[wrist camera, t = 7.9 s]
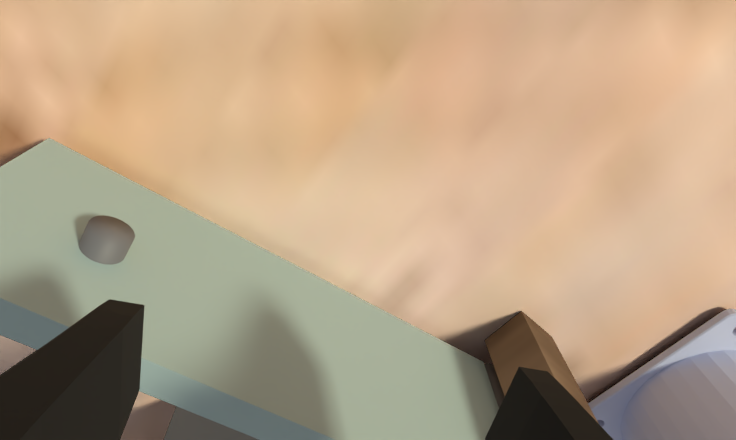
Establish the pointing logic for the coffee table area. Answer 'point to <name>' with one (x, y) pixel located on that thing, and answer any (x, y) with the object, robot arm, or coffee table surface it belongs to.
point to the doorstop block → (200, 428)
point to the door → (223, 314)
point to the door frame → (530, 355)
